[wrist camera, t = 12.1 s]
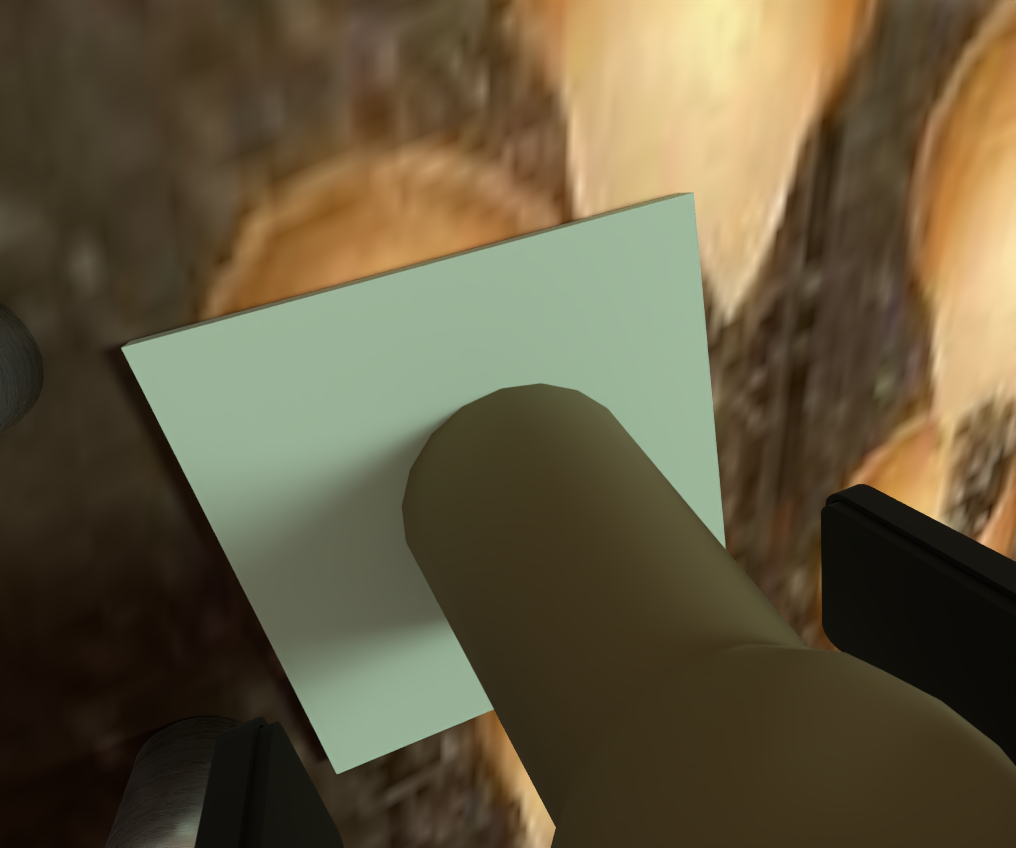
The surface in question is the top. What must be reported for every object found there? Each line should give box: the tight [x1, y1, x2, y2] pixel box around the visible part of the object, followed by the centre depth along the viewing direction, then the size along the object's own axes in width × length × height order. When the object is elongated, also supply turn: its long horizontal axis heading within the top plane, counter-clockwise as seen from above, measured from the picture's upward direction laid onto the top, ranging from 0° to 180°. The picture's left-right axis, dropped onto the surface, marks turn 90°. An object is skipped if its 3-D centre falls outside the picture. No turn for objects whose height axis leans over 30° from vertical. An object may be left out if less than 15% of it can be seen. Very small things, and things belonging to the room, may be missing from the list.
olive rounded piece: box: [402, 383, 1016, 848], centre depth 10 cm, size 6×6×11 cm
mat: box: [121, 193, 726, 774], centre depth 15 cm, size 12×12×1 cm
